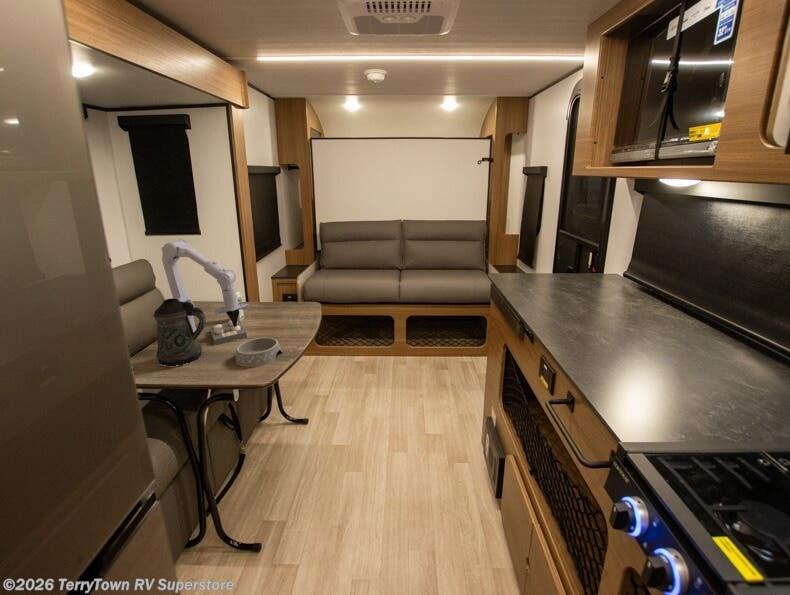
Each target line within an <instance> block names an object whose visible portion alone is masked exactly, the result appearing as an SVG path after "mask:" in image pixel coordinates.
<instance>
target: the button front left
mask: <svg viewBox="0 0 790 595" xmlns="http://www.w3.org/2000/svg"><path fill="white" fill-rule="evenodd" d="M214 331H215V335H219V334H223V333H225V332H224V328H223V327H219V328H216V329H214Z"/></svg>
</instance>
